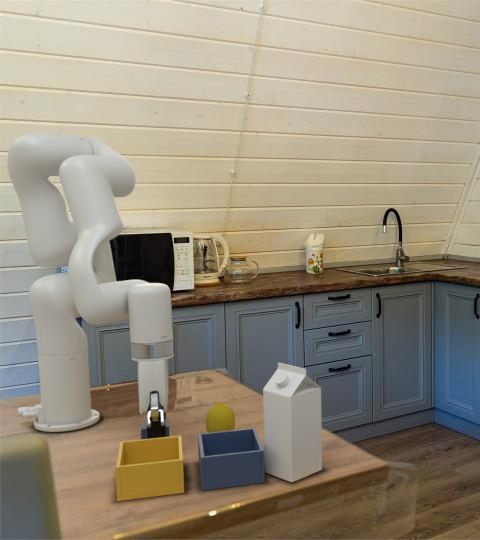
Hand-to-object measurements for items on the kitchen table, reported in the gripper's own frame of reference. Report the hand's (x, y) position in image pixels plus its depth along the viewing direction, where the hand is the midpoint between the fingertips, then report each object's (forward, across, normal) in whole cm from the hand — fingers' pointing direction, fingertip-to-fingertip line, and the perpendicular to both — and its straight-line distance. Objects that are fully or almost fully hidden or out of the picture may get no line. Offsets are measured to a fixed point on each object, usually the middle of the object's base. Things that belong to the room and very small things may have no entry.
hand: (157, 438), depth 137 cm
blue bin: (+3, +16, +12) cm, 20 cm away
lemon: (+3, 0, +12) cm, 12 cm away
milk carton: (+3, +18, +23) cm, 29 cm away
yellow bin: (+2, +16, -1) cm, 16 cm away
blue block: (+2, 0, 0) cm, 2 cm away
